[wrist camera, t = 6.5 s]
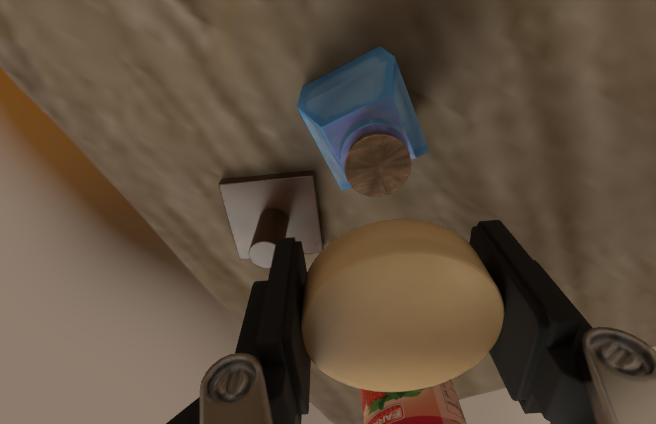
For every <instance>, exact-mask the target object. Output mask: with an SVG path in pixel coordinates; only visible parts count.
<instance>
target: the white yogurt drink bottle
mask: <svg viewBox="0 0 656 424" xmlns="http://www.w3.org/2000/svg"><path fill="white" fill-rule="evenodd" d="M361 398H362V409H363V419H364V424H466V421H465V418H464V415H463V412H462V409H461V406H460V403H459V400H458V397H457V394H456V391H455V389H454V386H453V383H452V380H451V379H450V380H448V381H446V382H443V383H440V384H438V385H435V386H431V387H427V388H423V389H418V390H413V391H403V392H378V391H370V390H364V389H361Z"/></svg>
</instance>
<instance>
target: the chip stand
mask: <svg viewBox="0 0 656 424" xmlns="http://www.w3.org/2000/svg"><path fill="white" fill-rule="evenodd" d="M218 185H219V189H220V192H221V196H222V199H223V203H224V206H225V210H226V213H227V216H228V220H229V223H230V227H231V230H232V234H233V237H234V241H235V244H236V248H237V251H238V254H239V258H240V260H242V259H250V260H251V261H252V262H253V263H254V264H255V265H257V266H259V267H262V268H271V264H272V259H273V255H274V250H275V245H276V240H277V239H279V238H290V237H294V238H295V240H296V242H297V241H301V242H302V246H303V252H304V254H312V253H321V252H322V251H323V250H324V246H323V239H322V231H321V223H320V216H319V208H318V201H317V193H316V186H315V178H314V171H306V172H295V173H285V174H275V175H264V176H254V177H244V178H233V179H223V180H221V181H220V182H219V184H218Z"/></svg>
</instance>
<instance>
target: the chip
mask: <svg viewBox="0 0 656 424" xmlns="http://www.w3.org/2000/svg"><path fill="white" fill-rule="evenodd" d="M503 319H504V303H503V299H502V295H501V293H500V291H499V289H498V287H497V285H496V284H495V282H494V280H493V279H492V277H491V276H490V274H489V272H488V271H487V269H486V267H485V266H484V264H483V263H482V261H481V259H480V258H479V256H478V255H477V253H476V252H475V250H474V249H473V248H472V246H471V245H470V244H469V243H468V242H467V241H465V240H464V239H463V238H462V237H460V236H459V235H457V234H456V233H455V232H453V231H451V230H449V229H447V228H445V227H442V226H439V225H436V224H433V223H430V222H425V221H420V220H409V219H395V220H386V221H379V222H375V223H371V224H367V225H364V226H361V227H359V228H356V229H353V230H352V231H350V232H348V233H346V234H344V235H342V236H340V237H339V238H337V239H336V240H334V241H333V242H332V243H331V244H329V245H328V246H327V247H326V248H325V249H324V250H323V251H322V252H321V253H320V254H319V255H318V256H317V258H316V259H315V260H314V262H313V263H312V265H311V267H310V268H309V271H308V273H307V275H306V278H305V282H304V286H303V299H302V312H301V330H302V336H303V341H304V346H305V350H306V352H307V354H308V356H309V357H310V359H311V360H312V361H313V363H314V364H315V365H316V366H317V367H318V368H319V369H320V370H322V371H323V372H324V373H326V374H327V375H328V376H330V377H332V378H334V379H335V380H337V381H339V382H342V383H344V384H346V385H349V386H353V387H356V388H360V389H364V390H370V391H378V392H403V391H413V390H418V389H423V388H427V387H431V386H435V385H438V384H440V383H443V382H446V381H448V380H450V379H453V378H455V377H457V376H459V375H460V374H462V373H464V372H466V371H467V370H469V369H470V368H472V367H473V366H475V365H476V364H477V363H478V362H479V361H480V360H482V359H483V358H484V357H485V356H486V355H487V353H488V352H489V351H490V350H491V349H492V347H493V346H494V344H495V343H496V341H497V339H498V337H499V335H500V332H501V328H502V324H503Z"/></svg>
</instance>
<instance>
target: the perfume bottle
mask: <svg viewBox="0 0 656 424" xmlns="http://www.w3.org/2000/svg"><path fill="white" fill-rule="evenodd" d="M297 108H298V110H299V112H300V114H301V116H302V118H303V119H304V121H305V123H306V125H307V127H308V129H309V131H310V133H311V134H312V136H313V138H314V140H315V142H316V144H317V146H318V147H319V149H320V151H321V153H322V155H323V157H324V159H325V161H326V162H327V164H328V166H329V168H330V170H331V172H332V174H333V176H334V177H335V179H336V181H337V183H338V185H339V187H340V189H341V190H344V189H347V188H350V187H352V188H353V189H355V190H356V191H358V192H359V193H361V194H364V195H367V196H384V195H387V194H390V193H392V192H394V191H395V190H397V189H399V188H400V187H401V186H402V185H403V184H404V182H405V181H406V180H407V178H408V176H409V174H410V170H411V163H412V162H411V161H412V160H414V159H416V158H418V157H420V156H422V155H423V154H425V153H427V152H429V149H428V146H427V143H426V141H425V138H424V135H423V132H422V130H421V127H420V124H419V122H418V119H417V116H416V113H415V111H414V108H413V105H412V102H411V100H410V97H409V94H408V92H407V89H406V86H405V83H404V81H403V78H402V75H401V73H400V70H399V67H398V64H397V62H396V59H395V56H393V55H392V54H390V53H389V52H387V51H386V50H385V49H383V48H382V47H380V46H378V47H377V48H375V49H373V50H371V51H369V52H367V53H365V54H363V55H362V56H360V57H358V58H356V59H354V60H352V61H350V62H348V63H346V64H345V65H343V66H341V67H339V68H337V69H335V70H333V71H331V72H330V73H328V74H326V75H324V76H322V77H320V78H318V79H316V80H315V81H313V82H311V83H309V84H307V85H305V86H303V87H302V91H301V94H300V98H299V101H298V105H297Z"/></svg>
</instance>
